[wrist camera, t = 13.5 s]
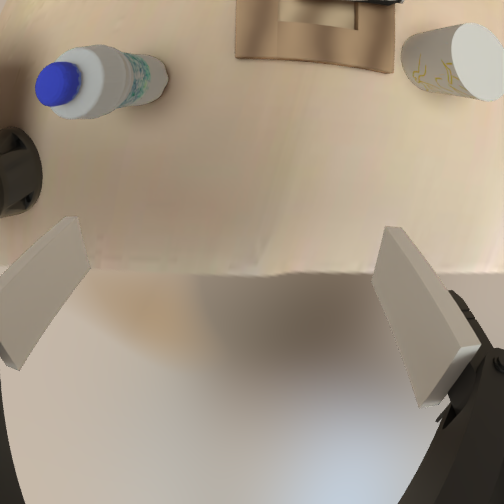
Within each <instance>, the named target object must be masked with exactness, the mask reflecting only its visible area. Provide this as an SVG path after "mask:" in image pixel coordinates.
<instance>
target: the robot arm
mask: <svg viewBox="0 0 504 504" xmlns="http://www.w3.org/2000/svg"><path fill="white" fill-rule="evenodd" d="M41 188H42V165H41V160H40V157H39V154H38V151H37V149H36V146H35V144H34V143H33V141H32V140H31V138H30V137H29V136H28V135H27V134H26V133H25V132H24V131H22V130H21V129H19V128H16V127H7V128H4V129H1V130H0V218H3V217H7V216H12V215H17V214H21V213H23V212H25V211H27V210H28V209H30V208H31V207H32V206H33V205H34V204H35V203H36V201H37V199H38V197H39V195H40V192H41ZM90 269H91V267H90V263H89V260H88V256H87V252H86V248H85V245H84V241H83V237H82V232H81V228H80V224H79V219H78V216H65V217H64V218H63V219H62V220H60V221H59V222H58V223H57V224H56V225H54V226H53V227H52V228H51V229H50V230H49V231H47V232H46V233H45V234H44V235H43V236H42V237H41V238H40V239H38V240H37V241H36V242H35V243H34V244H33V245H32V246H31V247H30V248H29V249H27V250H26V251H25V252H24V253H23V254H22V255H21V256H20V257H19V258H18V259H17V260H16V261H15V262H14V263H13V264H12V265H11V266H10V267H9V268H8V269H7V270H6V271H5V272H4V273H3V274H2V275H1V276H0V357H1V358H2V360H3V361H4V363H5V364H6V366H8V367H11V368H13V369H16V370H18V371H20V369H21V368H22V366H23V364H24V363H25V361H26V360H27V358H28V356H29V355H30V353H31V352H32V350H33V348H34V347H35V345H36V344H37V342H38V341H39V339H40V338H41V336H42V335H43V333H44V332H45V330H46V329H47V327H48V326H49V324H50V323H51V321H52V320H53V319H54V317H55V316H56V314H57V313H58V312H59V310H60V309H61V307H62V306H63V305H64V303H65V302H66V300H67V299H68V298H69V296H70V295H71V294H72V292H73V290H75V288H76V287H77V286H78V284H79V283H80V282H81V280H82V279H83V278H84V277H85V275H86V274H87V273H88V271H89V270H90ZM371 282H372V285H373V287H374V289H375V291H376V293H377V296H378V299H379V301H380V303H381V306H382V308H383V311H384V313H385V315H386V318H387V320H388V323H389V325H390V328H391V330H392V333H393V336H394V338H395V341H396V343H397V346H398V349H399V351H400V354H401V357H402V359H403V362H404V365H405V368H406V371H407V374H408V376H409V379H410V382H411V385H412V388H413V391H414V394H415V397H416V401H417V404H418V407H419V408H424V407H429V406H435V405H439V404H440V402H441V401H442V400H443V399H444V397H445V396H446V395H447V394H448V396H449V398H450V401H451V402H450V404H449V405H448V406H447V407H446V408H445V410H444V411H443V412H442V413H441V414H440V415H439V417H438V418H437V419H436V422H439V421H440V419H441V418H442V420H441V422H440V425H439V427H438V429H437V431H436V434H435V436H434V438H433V440H432V442H431V444H430V447H429V449H428V451H427V453H426V455H425V457H424V459H423V461H422V463H421V464H420V466H419V468H418V470H417V472H416V474H415V476H414V477H413V479H412V481H411V483H410V485H409V486H408V488H407V490H406V491H405V493H404V495H403V496H402V498H401V499H400V501H399V502H398V504H504V350H503V349H500V348H493V346H492V344H491V343H490V341H489V340H488V338H487V336H486V335H485V333H484V331H483V330H482V328H481V326H480V325H479V323H478V322H477V320H475V317H474V315H473V314H472V312H471V311H469V308H468V306H467V305H466V303H465V302H464V300H463V299H462V298H461V297H460V296H459V295H457V294H456V293H455V292H454V291H453V290H447V288H446V287H445V286H444V284H443V283H442V281H441V280H440V278H439V277H438V275H437V274H436V273H435V271H434V270H433V268H432V267H431V266H430V264H429V263H428V261H427V260H426V259H425V257H424V256H423V255H422V253H421V252H420V251H419V249H418V248H417V247H416V245H415V244H414V243H413V242H412V240H411V239H410V238H409V236H408V235H407V234H406V233H405V231H404V230H403V229H402V228H401V227H390V226H385V229H384V233H383V238H382V242H381V246H380V250H379V254H378V258H377V262H376V266H375V270H374V274H373V277H372V281H371ZM0 504H25V502H24V499H23V496H22V492H21V489H20V486H19V483H18V479H17V476H16V472H15V468H14V464H13V460H12V455H11V451H10V446H9V441H8V436H7V430H6V424H5V417H4V410H3V402H2V393H1V381H0Z"/></svg>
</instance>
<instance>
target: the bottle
mask: <svg viewBox="0 0 504 504" xmlns="http://www.w3.org/2000/svg"><path fill="white" fill-rule="evenodd" d="M167 83H168V76H167V73H166V69H165V65H164V64H163V63H162V62H161V61H160V60H158V59H157V58H155V57H152V56H150V55H141V54H129V53H123V52H121V51H119V50H117V49H115V48H113V47H108V46H105V45H92V46H86V47H77V48H73V49H70V50H68V51H66V52H65V53H63V54H62V55H61V56H59V58H58V59H57V60H56V61H55V62H54V63H51V64H49V65H48V66H46V67H45V68H44V69H43V70H42V71H41V72H40V74H39V76H38V78H37V81H36V86H35V91H36V95H37V98H38V99H39V101H40V102H41V103H42V104H43V105H46V106H49V107H50V108H51V109H52V110H53V112H54V113H56V114H57V115H58V116H60V117H62V118H65V119H94V118H98V117H100V116H103V115H106V114H108V113H110V112H112V111H113V110H115V109H117V108H121V107H126V106H138V105H144V104H147V103H150V102H152V101H154V100H156V99H157V98H159V97H160V96H161V94H162V92H163V90H164V88H165V86H166V85H167Z"/></svg>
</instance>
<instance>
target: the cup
mask: <svg viewBox="0 0 504 504" xmlns="http://www.w3.org/2000/svg"><path fill="white" fill-rule="evenodd" d="M401 61H402V66H403V69H404V71H405V73H406V75H407V76H408V78H409V79H410V80H411V82H412V83H413V84H414V85H416V86H417V87H418V88H420V89H422V90H424V91H428V92H435V93H442V94H449V95H455V96H461V97H467V98H473V99H478V100H483V101H495V100H497V99H499V98H500V97H501V96H502V95H503V94H504V48H503V46H502V45H501V43H500V42H499V40H498V39H497V38H496V36H495V35H494V34H493V33H492V32H491V31H489V30H488V29H487V28H485V27H484V26H482V25H479V24H476V23H466V24H460V25H455V26H450V27H445V28H441V29H436V30H432V31H428V32H423V33H419V34H416V35H413V36H411V37H409V38H408V39H407V40H406V41H405V43H404V45H403V47H402V51H401Z"/></svg>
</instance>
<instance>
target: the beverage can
mask: <svg viewBox="0 0 504 504" xmlns="http://www.w3.org/2000/svg"><path fill="white" fill-rule="evenodd" d="M345 1H355V2H364V3H372V4H379V5H385V6H390V5H393V4H395V3H400V4H402V3H403V2H404V0H345Z"/></svg>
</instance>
